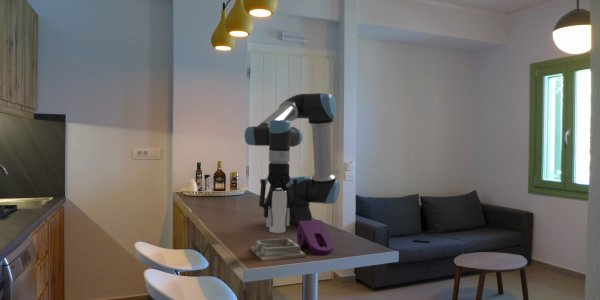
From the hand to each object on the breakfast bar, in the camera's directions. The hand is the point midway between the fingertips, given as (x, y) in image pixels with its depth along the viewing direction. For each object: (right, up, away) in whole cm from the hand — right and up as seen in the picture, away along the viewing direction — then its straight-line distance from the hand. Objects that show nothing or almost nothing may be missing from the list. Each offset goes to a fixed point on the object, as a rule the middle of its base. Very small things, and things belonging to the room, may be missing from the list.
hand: (277, 225), depth 148 cm
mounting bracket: (+14, -11, +8) cm, 20 cm away
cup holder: (0, -10, 0) cm, 10 cm away
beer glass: (0, -2, 0) cm, 2 cm away
